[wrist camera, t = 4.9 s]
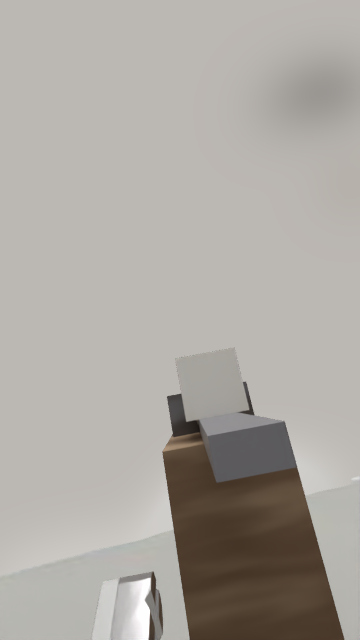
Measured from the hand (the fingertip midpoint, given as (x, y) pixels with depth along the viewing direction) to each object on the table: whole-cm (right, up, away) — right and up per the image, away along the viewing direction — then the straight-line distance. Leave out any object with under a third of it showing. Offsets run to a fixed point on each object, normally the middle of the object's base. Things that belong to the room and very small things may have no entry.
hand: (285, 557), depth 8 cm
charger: (0, -1, +10) cm, 10 cm away
